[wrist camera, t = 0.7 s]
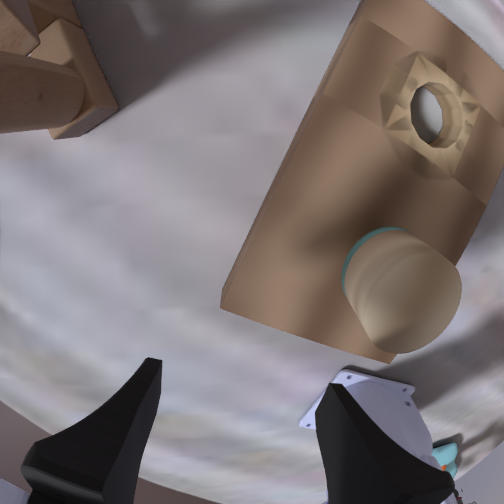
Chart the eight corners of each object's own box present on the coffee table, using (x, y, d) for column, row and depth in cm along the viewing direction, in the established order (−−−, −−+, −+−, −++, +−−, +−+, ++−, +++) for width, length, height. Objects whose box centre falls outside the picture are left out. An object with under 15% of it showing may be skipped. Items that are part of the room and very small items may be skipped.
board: (506, 96, 17) (526, 96, 15) (378, 345, 25) (389, 364, 23) (368, -14, 15) (381, -27, 12) (222, 289, 22) (220, 308, 20)
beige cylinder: (418, 235, 19) (477, 278, 13) (379, 302, 20) (420, 362, 14) (355, 199, 18) (407, 235, 12) (314, 275, 19) (343, 338, 13)
